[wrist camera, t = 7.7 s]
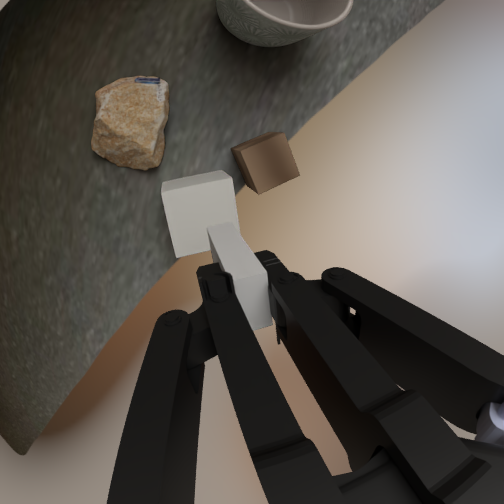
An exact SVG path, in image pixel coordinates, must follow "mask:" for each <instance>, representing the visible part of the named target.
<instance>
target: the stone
mask: <svg viewBox="0 0 504 504" xmlns="http://www.w3.org/2000/svg"><path fill="white" fill-rule="evenodd" d="M168 88H169V85H168V83H167V82H165V81H164V80H161V79H160V78H158V77H152V76H151V77H144V76H136V77H128V78H121V79H119V80H116V81H115V82H113V83H111V84H109V85H107V86H105V87H103V88H101V89H100V90H98V91H97V92H96V94H95V97H96V99H97V101H96V118H95V120H94V129H93V137H92V141H91V144H92V150H93V151H95V152H96V153H97V154H98V155H100V156H101V157H103V158H107V160H108V161H110V162H112V163H115V164H116V165H117V166H119V167H130V168H132V169H141V170H145V171H146V170H148V169H149V168H154V167H158V166H159V164H160V162H161V161H162V156H163V154H164V149H165V136H164V134H163V133H164V131H163V130H164V127H165V125H166V122H167V119H168V113H169V109H170V108H169V101H168V100H169V90H168Z"/></svg>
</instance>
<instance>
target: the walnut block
mask: <svg viewBox="0 0 504 504" xmlns="http://www.w3.org/2000/svg"><path fill="white" fill-rule="evenodd" d="M231 150H232V153H233V155H234V157H235V159H236V162H237V164H238V166H239V169H240V171H241V173H242V175H243V178H244V180H245V182H246V185H247V186H248V187H249V188H251V189H252V190H253V191H255V192H256V193H257V194H261V193H263V192H265V191H268V190H270V189H272V188H274V187H276V186H278V185H280V184H282V183H285V182H287V181H289V180H291V179H293V178H296V177H298V176H300V174H299V171H298V168H297V166H296V163H295V160H294V158H293V155H292V152H291V149H290V147H289V144H288V141H287V139H286V136H285V133H280V132H268V133H265V134H263V135H260V136H258V137H256V138H253V139H251V140H249V141H246V142H244V143H242V144H239V145H237V146H235V147H233V148H231Z"/></svg>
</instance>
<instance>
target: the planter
mask: <svg viewBox="0 0 504 504" xmlns="http://www.w3.org/2000/svg"><path fill="white" fill-rule="evenodd" d="M352 5H353V0H216V9H217V13H218V16H219V18H220V20H221V22H222V24H223V25H224V26H225V28H226V29H227V30H228V31H229V32H230V33H231V34H233V35H234V36H235V37H237V38H239V39H240V40H242V41H244V42H247V43H249V44H252V45H256V46H261V47H280V46H285V45H289V44H292V43H295V42H298V41H300V40H303V39H305V38H307V37H310V36H312V35H314V34H316V33H318V32H321V31H323V30H325V29H327V28H329V27H332V26H334V25H336V24H338V23H340V22H341V21H342V20H343V19H345V18H346V16H347V15H348V14H349V12H350V10H351V8H352Z"/></svg>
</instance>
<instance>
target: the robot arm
mask: <svg viewBox="0 0 504 504" xmlns="http://www.w3.org/2000/svg"><path fill="white" fill-rule="evenodd" d="M206 228H207V233H208V238H209V243H210V248H211V253H212V258H213V264H208V265H205V266H200V267H199V268H198V270H197V272H196V274H197V278H198V282H199V286H200V291H201V295H202V298H203V302H202V305H201V306H200V307H199V308H198V309H197V310H196V311H194V312H192V313H190V314H188V313H187V312H185V311H183V310H171V311H168V312H166V313H164V314H162V315H161V316H160V317H159V318H158V319H157V321H156V324H155V327H154V329H153V332H152V335H151V338H150V341H149V345H148V348H147V351H146V354H145V357H144V360H143V363H142V367H141V370H140V373H139V376H138V380H137V383H136V386H135V390H134V393H133V397H132V400H131V404H130V407H129V411H128V414H127V418H126V422H125V426H124V429H123V433H122V437H121V441H120V445H119V449H118V454H117V458H116V462H115V467H114V471H113V475H112V480H111V485H110V489H109V494H108V500H107V504H194V497H195V480H196V463H197V450H198V449H197V448H198V435H199V424H200V412H201V401H202V390H203V379H204V369H205V364H204V362H205V361H207V360H209V359H211V358H213V357H215V356H216V355H218V357H219V360H220V363H221V367H222V371H223V374H224V377H225V380H226V384H227V386H228V390H229V393H230V396H231V399H232V403H233V406H234V409H235V412H236V415H237V418H238V421H239V424H240V427H241V430H242V433H243V436H244V439H245V441H246V444H247V447H248V450H249V453H250V456H251V458H252V461H253V464H254V466H255V469H256V472H257V475H258V477H259V480H260V483H261V485H262V488H263V490H264V493H265V495H266V498H267V500H268V503H269V504H504V355H502V354H500V353H498V352H496V351H495V350H493V349H491V348H490V347H488V346H486V345H484V344H483V343H481V342H479V341H478V340H476V339H474V338H472V337H470V336H469V335H467V334H465V333H464V332H462V331H460V330H458V329H457V328H455V327H453V326H451V325H449V324H448V323H446V322H444V321H442V320H441V319H438V318H437V317H435V316H433V315H432V314H430V313H428V312H426V311H424V310H422V309H421V308H419V307H417V306H415V305H413V304H411V303H409V302H408V301H406V300H404V299H402V298H400V297H399V296H397V295H395V294H393V293H391V292H389V291H387V290H385V289H383V288H382V287H380V286H378V285H376V284H374V283H372V282H370V281H368V280H367V279H365V278H363V277H361V276H359V275H357V274H355V273H353V272H351V271H349V270H347V269H344V268H339V267H335V268H334V267H333V268H330V269H326V270H325V271H324V272H323V273H322V277H321V278H322V279H321V280H305V279H304V278H303V277H302V276H301V275H299V274H298V273H295V272H289V271H288V270H287V268H286V267H285V266H284V265H283V264H282V262H280V260H279V259H278V258H277V257H276V255H275V254H274V253H272V252H270V251H267V250H264V251H260V252H256V253H253V252H252V250H251V249H250V248H249V246H248V245H247V243H246V242H245V240H244V239H243V238H242V236H241V235H240V233H239V232H238V231H237V229H236V228H235V226H234V225H233V224H232V222H228V223H223V224H219V225H214V226H210V227H206ZM350 307H351V308H353V309H354V310H356V313H355V315H354V314H352V313H350ZM272 317H273V318H274V320H275V323H276V332H277V342H278V344H280V339H281V340H282V342H283V344H284V345H285V347H286V349H287V351H288V352H289V354H290V356H291V358H292V360H293V361H294V363H295V365H296V366H297V368H298V370H299V372H300V373H301V375H302V377H303V379H304V380H305V382H306V384H307V386H308V387H309V389H310V391H311V393H312V394H313V396H314V398H315V399H316V401H317V403H318V405H319V406H320V408H321V410H322V411H323V413H324V415H325V417H326V418H327V420H328V422H329V423H330V425H331V427H332V428H333V430H334V432H335V434H336V435H337V437H338V439H339V440H340V442H341V444H342V445H343V447H344V449H345V450H346V452H347V455H348V460H349V464H350V467H351V469H352V472H350V473H346V474H341V475H336V476H332V475H331V473H330V472H329V470H328V468H327V466H326V464H325V463H324V461H323V459H322V457H321V455H320V453H319V451H318V449H317V448H316V446H315V445H314V443H313V442H312V441H311V440H310V439H308V438H306V437H305V436H304V434H303V433H302V430H301V429H300V426H299V425H298V423H297V421H296V419H295V417H294V415H293V413H292V411H291V409H290V407H289V405H288V403H287V401H286V399H285V397H284V395H283V393H282V391H281V388H280V386H279V384H278V382H277V381H276V378H275V376H274V374H273V372H272V370H271V368H270V366H269V364H268V362H267V360H266V358H265V356H264V354H263V351H262V349H261V347H260V345H259V343H258V341H257V339H256V337H255V334H254V332H253V331H254V330H257V329H261V328H264V327H268V326H271V325H273V323H272ZM397 385H399V386H400V387H401V388H403V389H404V390H405V391H403V390H401V389H400V388H399V387H398V386H397ZM441 417H443V418H444V419H446V420H447V421H449V422H450V423H452V424H454V425H455V426H457V427H459V428H461V429H463V430H465V431H467V432H470V433H474V434H477V435H476V437H475V440H470V439H465V438H460V437H458V436H457V435H456V434H455V433H454V432H453V430H452V429H451V428H450V427H449V426H448V425H447V423H446V422H445V421H444V420H443V419H442V418H441Z"/></svg>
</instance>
